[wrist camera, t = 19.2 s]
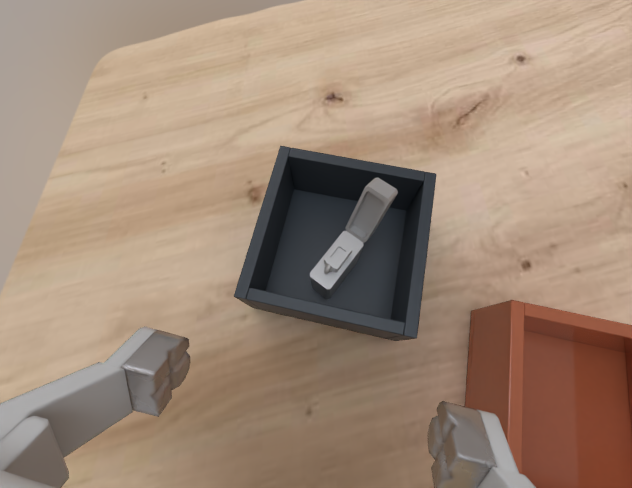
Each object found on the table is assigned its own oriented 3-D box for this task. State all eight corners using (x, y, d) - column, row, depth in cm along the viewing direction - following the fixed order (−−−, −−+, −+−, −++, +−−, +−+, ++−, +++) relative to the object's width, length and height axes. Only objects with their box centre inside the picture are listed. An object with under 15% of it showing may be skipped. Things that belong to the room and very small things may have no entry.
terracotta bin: (627, 344, 24) (716, 342, 18) (643, 530, 20) (759, 594, 15) (471, 310, 25) (511, 299, 19) (459, 480, 21) (505, 524, 16)
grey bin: (414, 207, 28) (436, 173, 22) (396, 341, 24) (417, 338, 19) (288, 183, 29) (280, 145, 23) (252, 307, 25) (233, 296, 20)
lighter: (327, 300, 24) (330, 278, 17) (310, 287, 25) (305, 259, 17) (378, 233, 26) (401, 186, 19) (361, 222, 27) (377, 171, 19)
